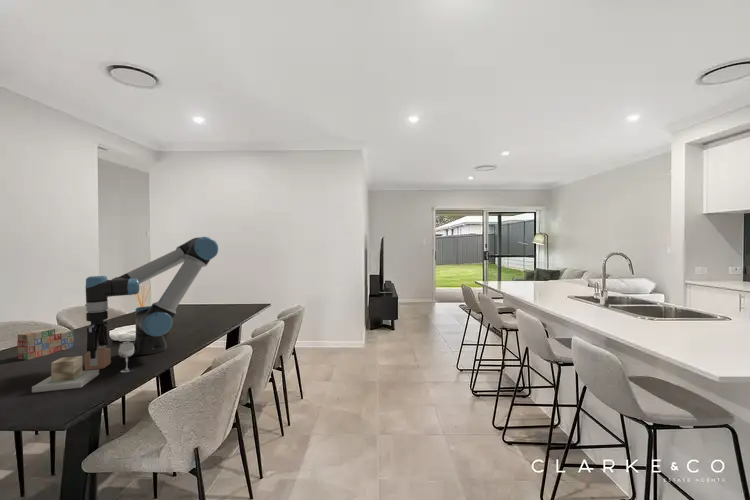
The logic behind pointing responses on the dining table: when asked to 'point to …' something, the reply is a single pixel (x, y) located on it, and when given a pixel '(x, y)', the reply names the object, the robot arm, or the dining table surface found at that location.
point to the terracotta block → (99, 359)
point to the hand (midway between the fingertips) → (98, 362)
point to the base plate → (65, 382)
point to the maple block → (66, 368)
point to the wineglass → (126, 352)
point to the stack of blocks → (43, 342)
